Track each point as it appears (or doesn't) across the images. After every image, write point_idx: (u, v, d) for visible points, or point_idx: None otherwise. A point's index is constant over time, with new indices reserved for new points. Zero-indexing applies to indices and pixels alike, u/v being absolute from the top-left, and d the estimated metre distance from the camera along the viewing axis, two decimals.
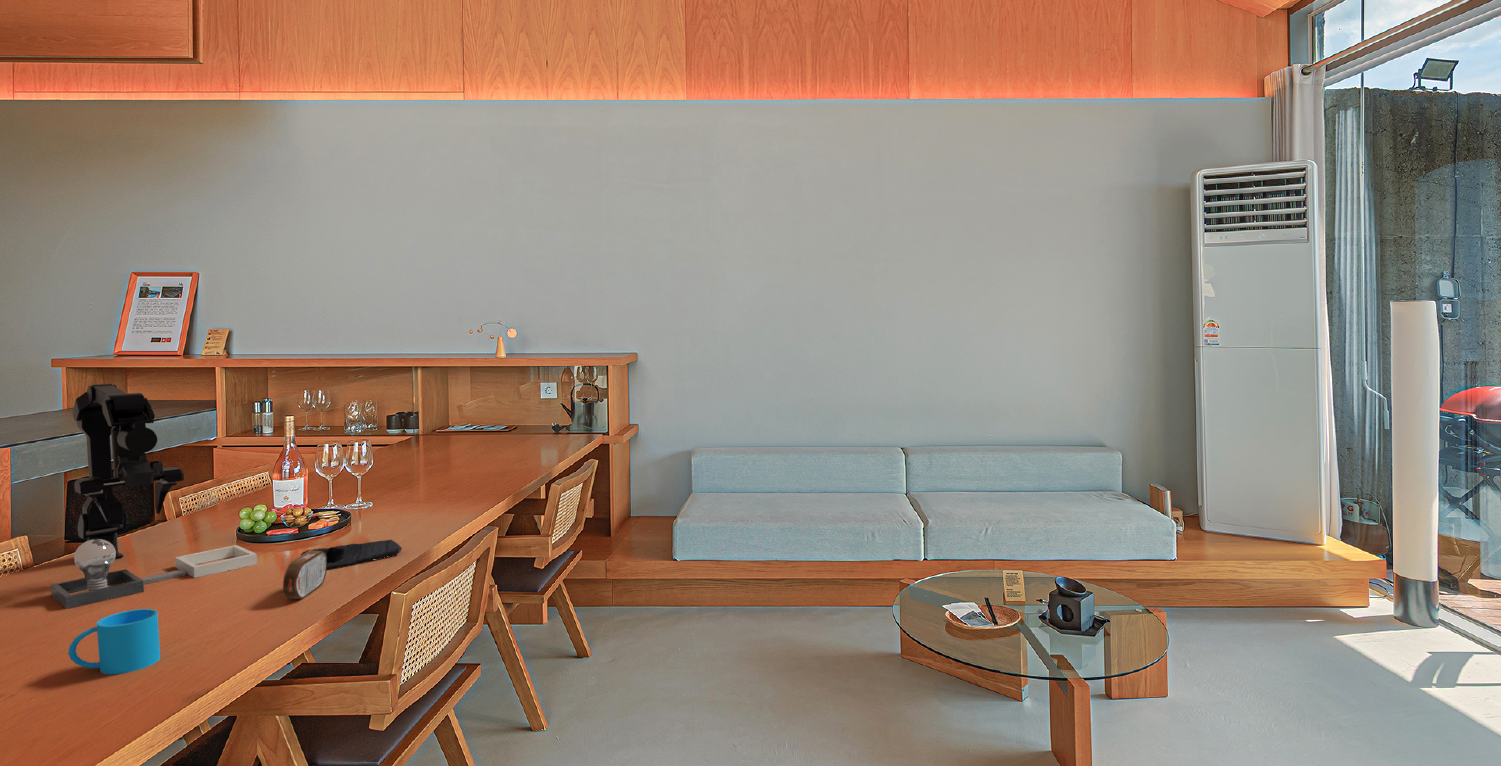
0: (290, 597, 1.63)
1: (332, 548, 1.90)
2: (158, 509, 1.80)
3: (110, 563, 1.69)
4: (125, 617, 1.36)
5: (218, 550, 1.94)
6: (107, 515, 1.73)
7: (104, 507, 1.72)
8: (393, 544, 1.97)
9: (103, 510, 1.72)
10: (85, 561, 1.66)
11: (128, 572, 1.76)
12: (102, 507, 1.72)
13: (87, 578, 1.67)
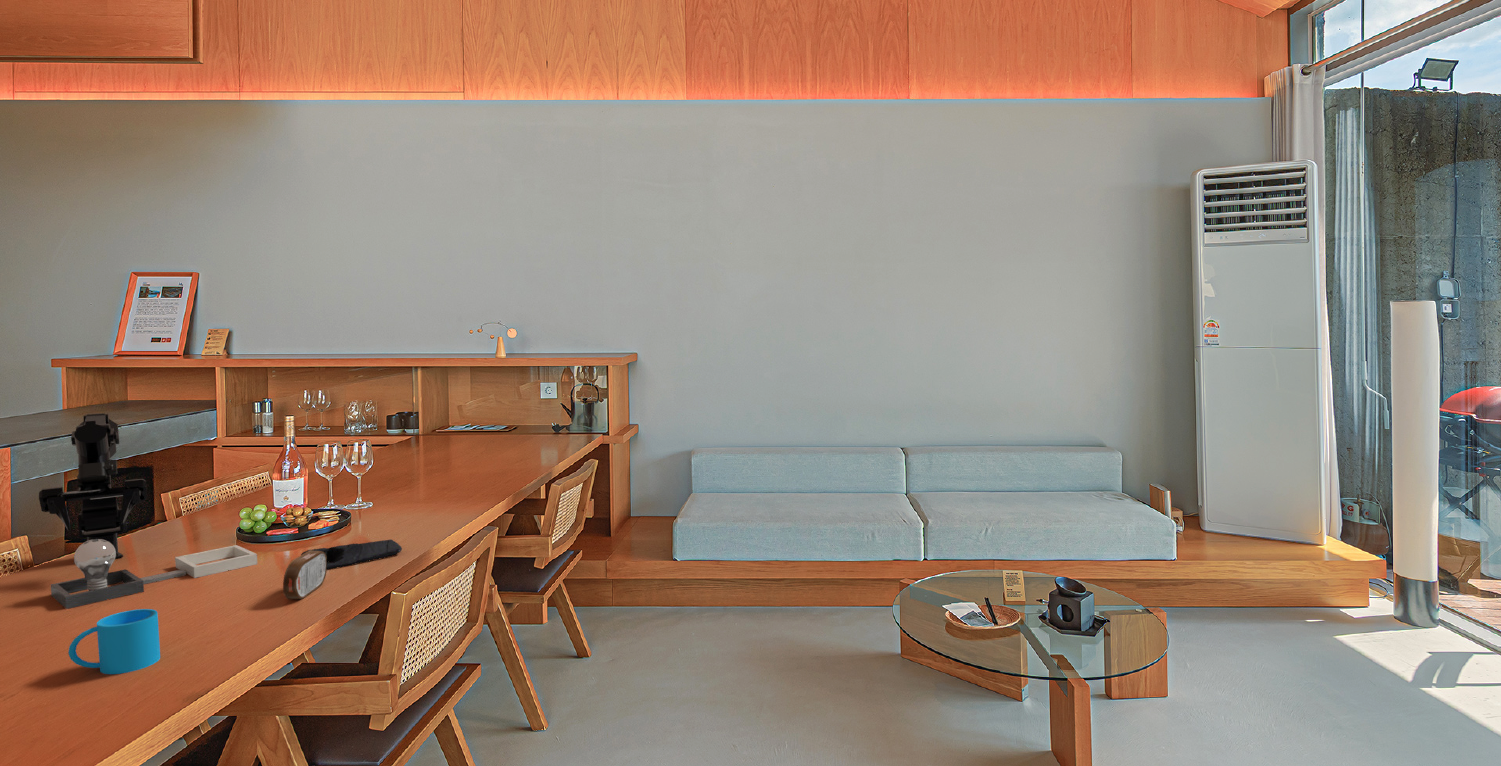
0: (290, 597, 1.63)
1: (332, 548, 1.90)
2: (121, 516, 1.78)
3: (110, 563, 1.69)
4: (125, 617, 1.36)
5: (218, 550, 1.94)
6: (67, 521, 1.72)
7: (64, 513, 1.73)
8: (393, 544, 1.97)
9: (63, 516, 1.72)
10: (85, 561, 1.66)
11: (128, 572, 1.76)
12: (62, 513, 1.73)
13: (87, 578, 1.67)
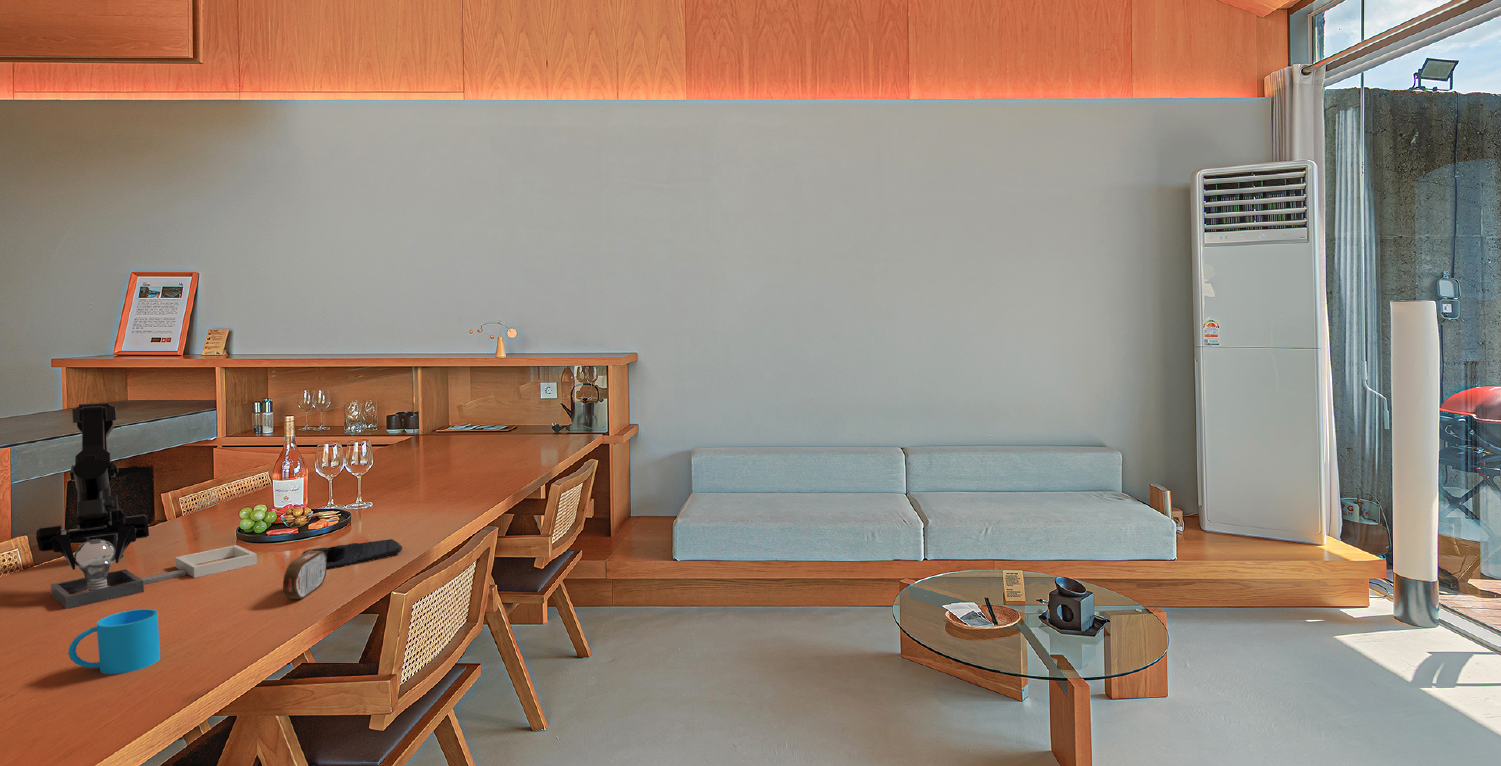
0: (290, 597, 1.63)
1: (333, 547, 1.91)
2: (116, 556, 1.70)
3: (110, 563, 1.69)
4: (125, 617, 1.36)
5: (218, 550, 1.94)
6: (72, 560, 1.66)
7: (69, 552, 1.66)
8: (394, 543, 1.98)
9: (68, 555, 1.66)
10: (85, 561, 1.66)
11: (128, 572, 1.76)
12: (66, 552, 1.66)
13: (87, 578, 1.67)
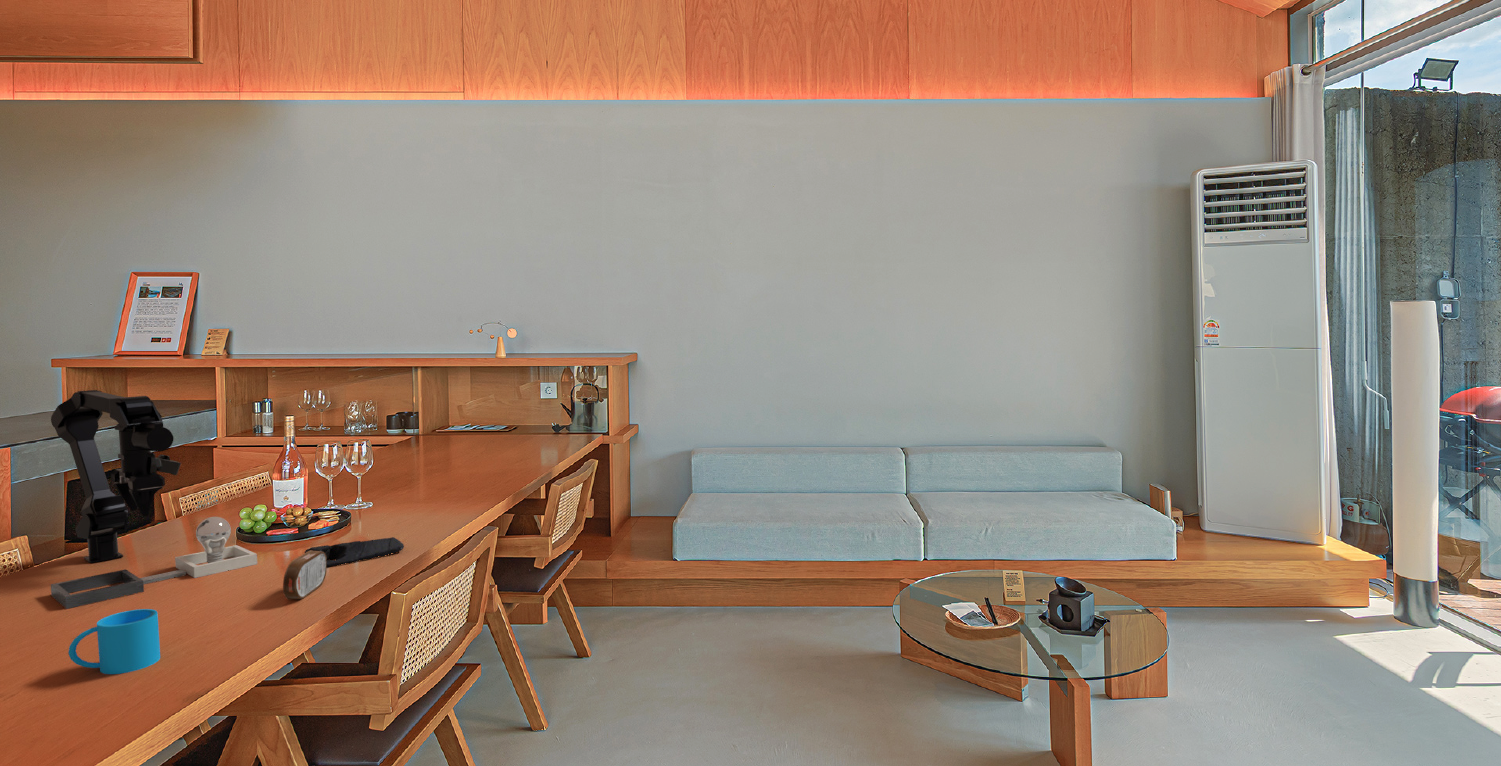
0: (290, 597, 1.63)
1: (335, 545, 1.93)
2: (137, 505, 1.91)
3: None
4: (125, 617, 1.36)
5: None
6: None
7: None
8: (395, 542, 1.99)
9: (151, 503, 1.85)
10: (219, 535, 1.86)
11: (128, 572, 1.76)
12: None
13: (213, 551, 1.87)
